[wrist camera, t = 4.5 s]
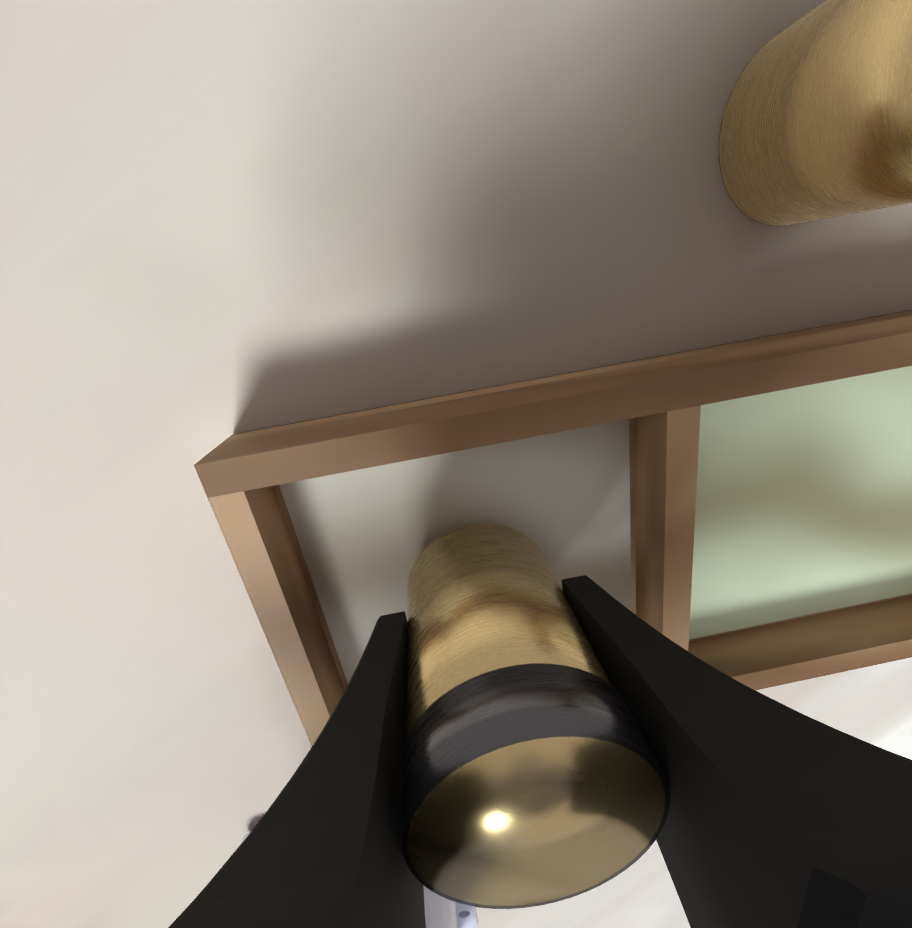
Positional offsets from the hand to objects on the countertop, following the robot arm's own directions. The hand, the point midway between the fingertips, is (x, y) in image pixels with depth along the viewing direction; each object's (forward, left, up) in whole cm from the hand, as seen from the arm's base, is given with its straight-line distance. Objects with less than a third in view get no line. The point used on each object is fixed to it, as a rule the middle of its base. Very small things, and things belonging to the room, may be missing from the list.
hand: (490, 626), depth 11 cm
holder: (0, -5, -3) cm, 6 cm away
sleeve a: (0, 0, -1) cm, 1 cm away
